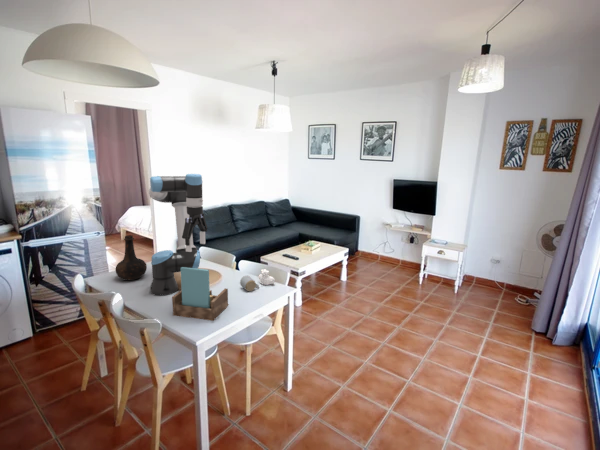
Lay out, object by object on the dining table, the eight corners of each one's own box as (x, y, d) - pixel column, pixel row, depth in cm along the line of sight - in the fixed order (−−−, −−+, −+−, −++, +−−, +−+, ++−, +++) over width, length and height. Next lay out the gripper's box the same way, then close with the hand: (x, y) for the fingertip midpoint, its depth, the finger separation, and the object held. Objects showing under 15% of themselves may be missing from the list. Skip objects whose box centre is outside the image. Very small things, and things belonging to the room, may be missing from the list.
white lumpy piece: (258, 285, 204) (251, 275, 196) (263, 275, 208) (257, 265, 200) (273, 289, 198) (267, 279, 190) (278, 279, 202) (273, 269, 195)
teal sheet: (182, 313, 157) (180, 268, 152) (184, 312, 158) (182, 267, 153) (208, 317, 154) (207, 270, 149) (210, 315, 156) (209, 269, 151)
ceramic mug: (245, 293, 186) (245, 280, 185) (239, 288, 193) (239, 276, 191) (261, 289, 192) (261, 277, 191) (255, 284, 199) (255, 273, 197)
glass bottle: (127, 285, 191) (123, 241, 185) (110, 279, 200) (106, 236, 194) (153, 276, 206) (150, 235, 200) (136, 271, 215) (133, 231, 209)
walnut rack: (172, 318, 155) (171, 297, 153) (191, 302, 172) (190, 283, 170) (214, 323, 151) (213, 302, 149) (229, 306, 169) (228, 287, 166)
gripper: (187, 211, 141) (189, 256, 146) (213, 202, 164) (214, 241, 169) (172, 209, 142) (174, 254, 147) (200, 201, 166) (201, 240, 171)
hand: (196, 247), depth 158 cm, fingers open, 13 cm apart
